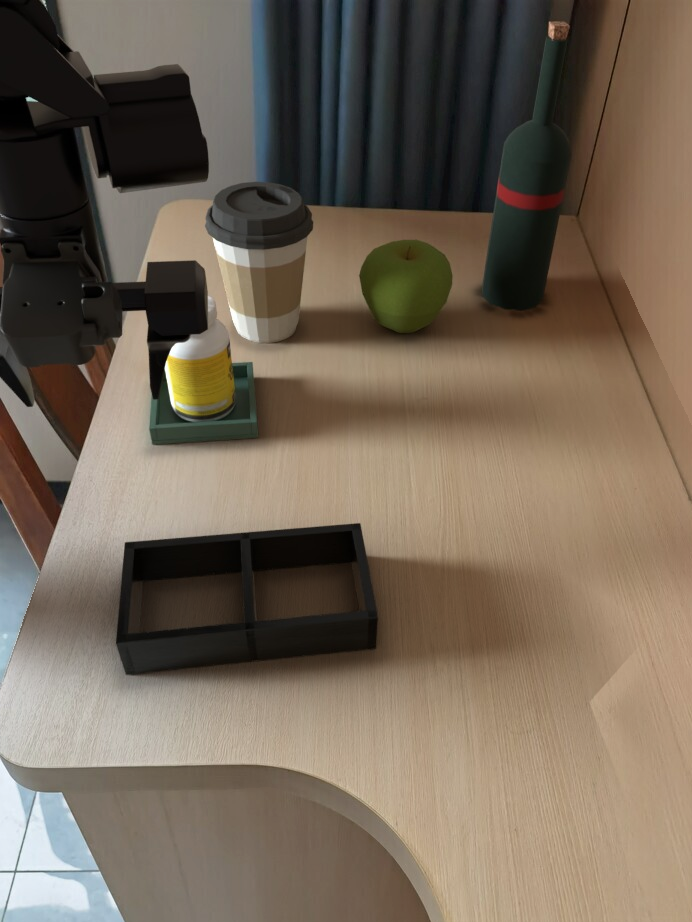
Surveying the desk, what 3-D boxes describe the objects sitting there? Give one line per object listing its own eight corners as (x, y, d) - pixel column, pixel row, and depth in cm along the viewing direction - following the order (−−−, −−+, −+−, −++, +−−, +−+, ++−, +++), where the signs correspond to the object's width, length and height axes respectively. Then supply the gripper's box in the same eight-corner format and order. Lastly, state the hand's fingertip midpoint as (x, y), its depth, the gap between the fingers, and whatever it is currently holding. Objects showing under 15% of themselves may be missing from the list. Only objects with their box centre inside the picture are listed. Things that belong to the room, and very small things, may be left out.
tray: (152, 444, 78) (148, 428, 76) (156, 382, 85) (153, 366, 83) (258, 437, 79) (257, 422, 78) (253, 377, 86) (252, 361, 85)
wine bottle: (526, 268, 106) (574, 7, 85) (551, 308, 99) (611, 35, 78) (469, 271, 105) (503, 7, 83) (490, 312, 98) (534, 35, 76)
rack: (125, 675, 59) (115, 643, 56) (133, 574, 66) (124, 541, 63) (376, 648, 62) (378, 617, 59) (359, 555, 69) (360, 522, 66)
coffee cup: (335, 328, 94) (336, 202, 83) (260, 366, 87) (251, 236, 77) (271, 290, 99) (264, 168, 88) (196, 324, 93) (179, 197, 82)
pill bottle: (238, 423, 80) (228, 321, 71) (172, 429, 79) (153, 326, 70) (234, 384, 84) (223, 284, 76) (171, 389, 83) (153, 288, 75)
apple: (385, 292, 100) (389, 215, 93) (462, 316, 97) (472, 238, 90) (341, 332, 93) (342, 252, 86) (422, 360, 90) (429, 279, 83)
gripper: (-160, 269, 43) (-60, 480, 54) (192, 257, 46) (219, 461, 57) (-105, 182, 51) (-27, 383, 62) (194, 177, 54) (217, 370, 65)
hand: (94, 400), depth 61 cm, fingers open, 9 cm apart
